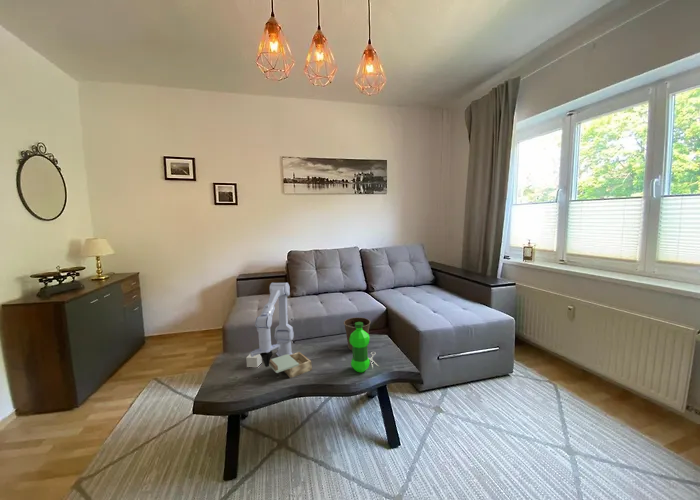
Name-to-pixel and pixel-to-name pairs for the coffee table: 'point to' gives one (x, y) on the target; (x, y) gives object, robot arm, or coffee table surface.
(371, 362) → the scissors
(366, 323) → the plant pot
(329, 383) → the coffee table surface
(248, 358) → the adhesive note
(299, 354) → the storage box
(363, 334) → the plastic bottle
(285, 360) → the lid
